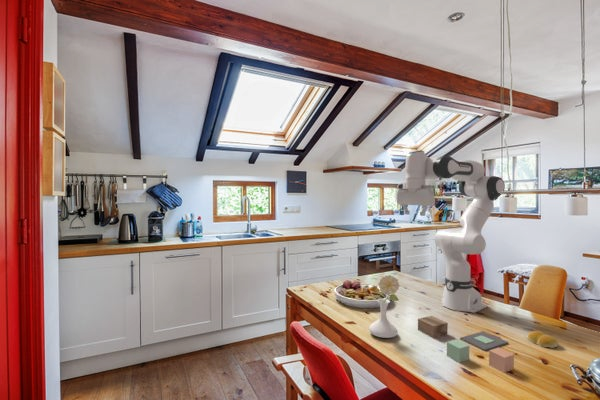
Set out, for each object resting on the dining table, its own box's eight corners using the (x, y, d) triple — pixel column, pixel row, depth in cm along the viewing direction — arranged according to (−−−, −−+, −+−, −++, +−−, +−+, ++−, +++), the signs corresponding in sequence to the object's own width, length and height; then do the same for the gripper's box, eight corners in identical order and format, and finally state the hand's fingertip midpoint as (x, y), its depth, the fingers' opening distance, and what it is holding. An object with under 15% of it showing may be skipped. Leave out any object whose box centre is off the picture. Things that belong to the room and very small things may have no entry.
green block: (456, 352, 110) (456, 339, 110) (469, 359, 106) (469, 345, 105) (446, 355, 108) (446, 341, 108) (459, 363, 103) (459, 348, 103)
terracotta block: (498, 361, 104) (498, 347, 104) (513, 369, 100) (514, 354, 100) (488, 365, 102) (489, 350, 102) (504, 373, 98) (504, 357, 98)
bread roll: (549, 350, 112) (549, 340, 112) (523, 339, 121) (524, 329, 121) (563, 347, 115) (563, 336, 115) (537, 336, 124) (538, 326, 124)
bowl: (402, 303, 161) (403, 288, 161) (362, 315, 144) (363, 298, 144) (361, 288, 186) (361, 275, 186) (323, 297, 169) (323, 283, 169)
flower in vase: (363, 332, 125) (363, 272, 125) (380, 325, 132) (381, 268, 132) (389, 345, 115) (390, 279, 114) (407, 337, 122) (408, 275, 121)
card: (483, 332, 126) (483, 330, 126) (508, 343, 117) (508, 341, 117) (460, 339, 120) (460, 337, 120) (484, 351, 111) (484, 348, 111)
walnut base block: (431, 327, 132) (431, 315, 132) (447, 335, 124) (447, 322, 124) (417, 330, 128) (418, 318, 128) (433, 338, 121) (433, 326, 121)
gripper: (438, 185, 134) (438, 216, 134) (404, 186, 152) (403, 213, 152) (428, 184, 131) (427, 216, 131) (394, 185, 149) (394, 213, 150)
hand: (414, 215), depth 142 cm, fingers open, 8 cm apart
